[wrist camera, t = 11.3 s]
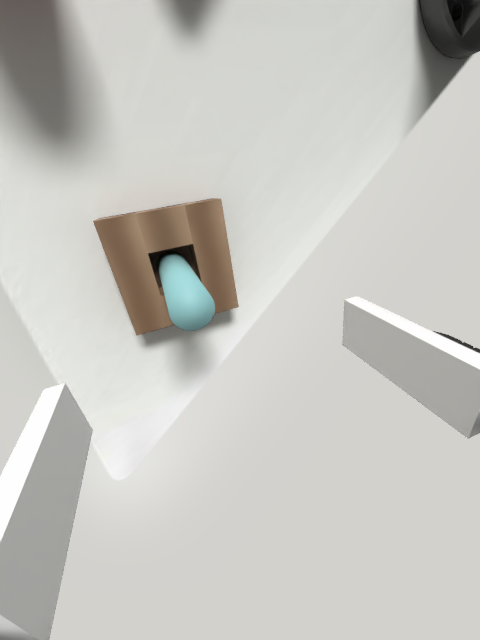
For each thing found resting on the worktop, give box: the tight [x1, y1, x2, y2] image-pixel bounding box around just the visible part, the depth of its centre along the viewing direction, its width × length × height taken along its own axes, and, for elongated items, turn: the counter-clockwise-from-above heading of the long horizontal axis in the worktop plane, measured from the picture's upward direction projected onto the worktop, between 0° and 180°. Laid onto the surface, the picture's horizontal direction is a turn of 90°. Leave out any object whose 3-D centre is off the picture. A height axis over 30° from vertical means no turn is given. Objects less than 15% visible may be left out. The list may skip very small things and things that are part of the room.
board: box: [93, 199, 238, 335], centre depth 29 cm, size 12×12×4 cm
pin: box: [157, 251, 215, 331], centre depth 24 cm, size 3×3×14 cm
